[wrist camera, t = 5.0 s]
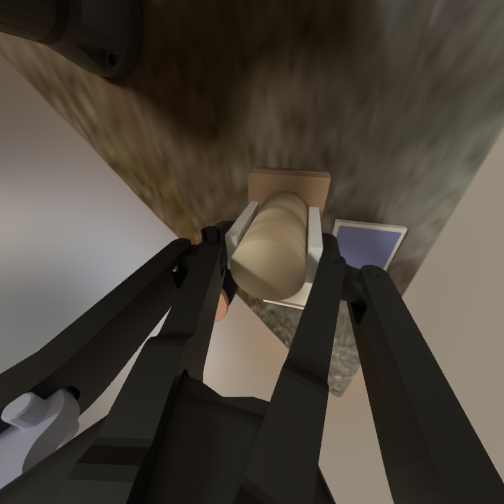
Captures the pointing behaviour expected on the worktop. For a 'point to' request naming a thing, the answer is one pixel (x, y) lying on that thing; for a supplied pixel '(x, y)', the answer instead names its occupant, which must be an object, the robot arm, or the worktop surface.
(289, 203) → the stamp
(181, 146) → the worktop surface
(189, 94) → the worktop surface
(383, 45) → the worktop surface
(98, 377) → the robot arm
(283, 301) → the print card
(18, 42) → the worktop surface
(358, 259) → the ink pad
